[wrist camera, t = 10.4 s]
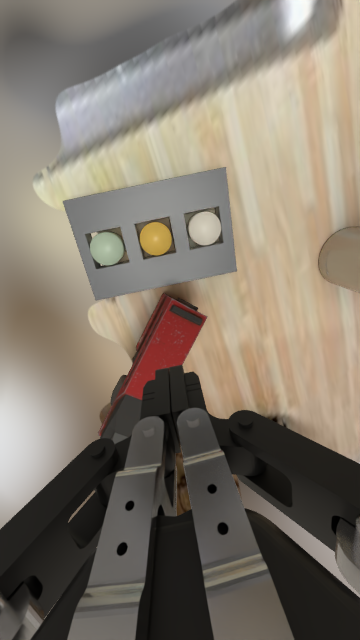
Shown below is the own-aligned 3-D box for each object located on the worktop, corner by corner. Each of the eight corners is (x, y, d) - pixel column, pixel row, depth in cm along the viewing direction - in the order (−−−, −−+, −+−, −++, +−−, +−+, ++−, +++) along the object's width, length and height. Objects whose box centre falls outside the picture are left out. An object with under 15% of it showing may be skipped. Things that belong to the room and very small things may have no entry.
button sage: (121, 228, 37) (117, 229, 34) (129, 258, 39) (126, 261, 36) (92, 234, 37) (85, 236, 34) (101, 264, 39) (95, 268, 36)
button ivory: (213, 209, 37) (218, 208, 34) (217, 240, 39) (222, 241, 36) (184, 215, 37) (186, 215, 34) (189, 245, 39) (192, 248, 36)
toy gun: (105, 400, 48) (93, 454, 33) (161, 289, 46) (174, 295, 31) (131, 410, 49) (130, 466, 34) (187, 302, 47) (210, 314, 33)
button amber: (167, 219, 37) (168, 219, 34) (173, 249, 39) (174, 251, 36) (138, 225, 37) (136, 225, 34) (145, 255, 39) (144, 258, 36)
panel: (220, 171, 36) (225, 166, 33) (231, 267, 41) (236, 271, 38) (70, 202, 36) (62, 200, 33) (100, 295, 41) (95, 300, 38)
